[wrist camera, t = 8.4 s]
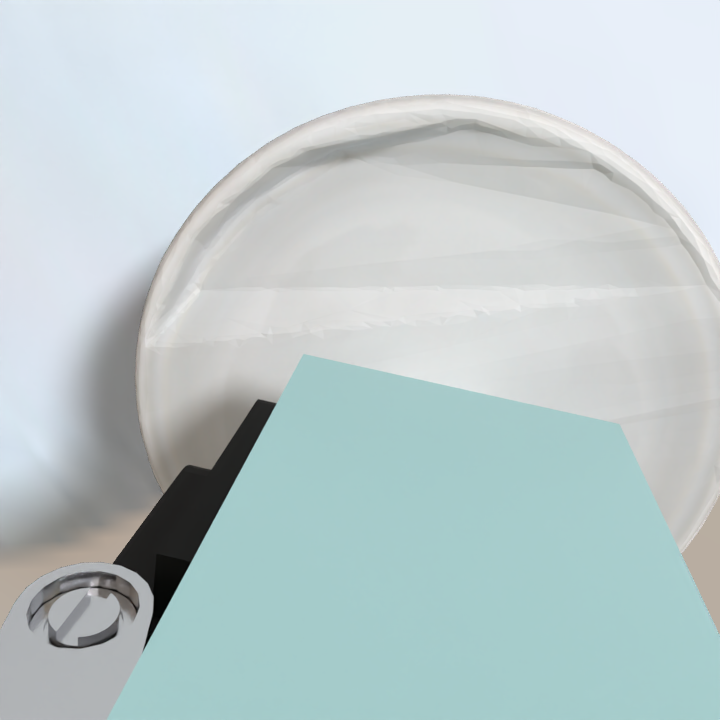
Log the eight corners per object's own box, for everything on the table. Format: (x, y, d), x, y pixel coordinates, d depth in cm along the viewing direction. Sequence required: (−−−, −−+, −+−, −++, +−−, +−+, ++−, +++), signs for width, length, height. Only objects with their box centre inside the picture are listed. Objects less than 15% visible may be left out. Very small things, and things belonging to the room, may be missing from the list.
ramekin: (479, -18, 14) (501, -86, 9) (747, 374, 16) (880, 492, 11) (131, 295, 17) (9, 372, 12) (393, 578, 20) (377, 735, 15)
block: (328, 307, 11) (82, 762, 4) (591, 364, 11) (877, 966, 4) (292, 517, 13) (83, 1090, 6) (515, 569, 13) (600, 1236, 5)
